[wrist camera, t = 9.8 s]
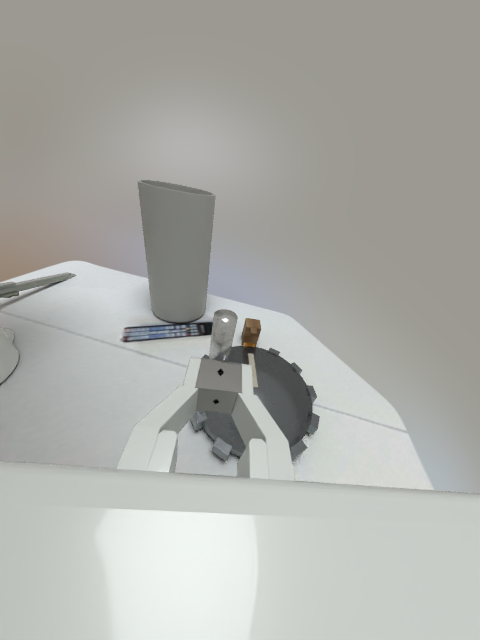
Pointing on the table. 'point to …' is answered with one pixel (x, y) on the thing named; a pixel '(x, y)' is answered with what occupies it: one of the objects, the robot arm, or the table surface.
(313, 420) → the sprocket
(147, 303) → the table surface
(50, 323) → the table surface
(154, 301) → the cylinder vase
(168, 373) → the table surface
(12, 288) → the caliper
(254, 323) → the brown wooden block
